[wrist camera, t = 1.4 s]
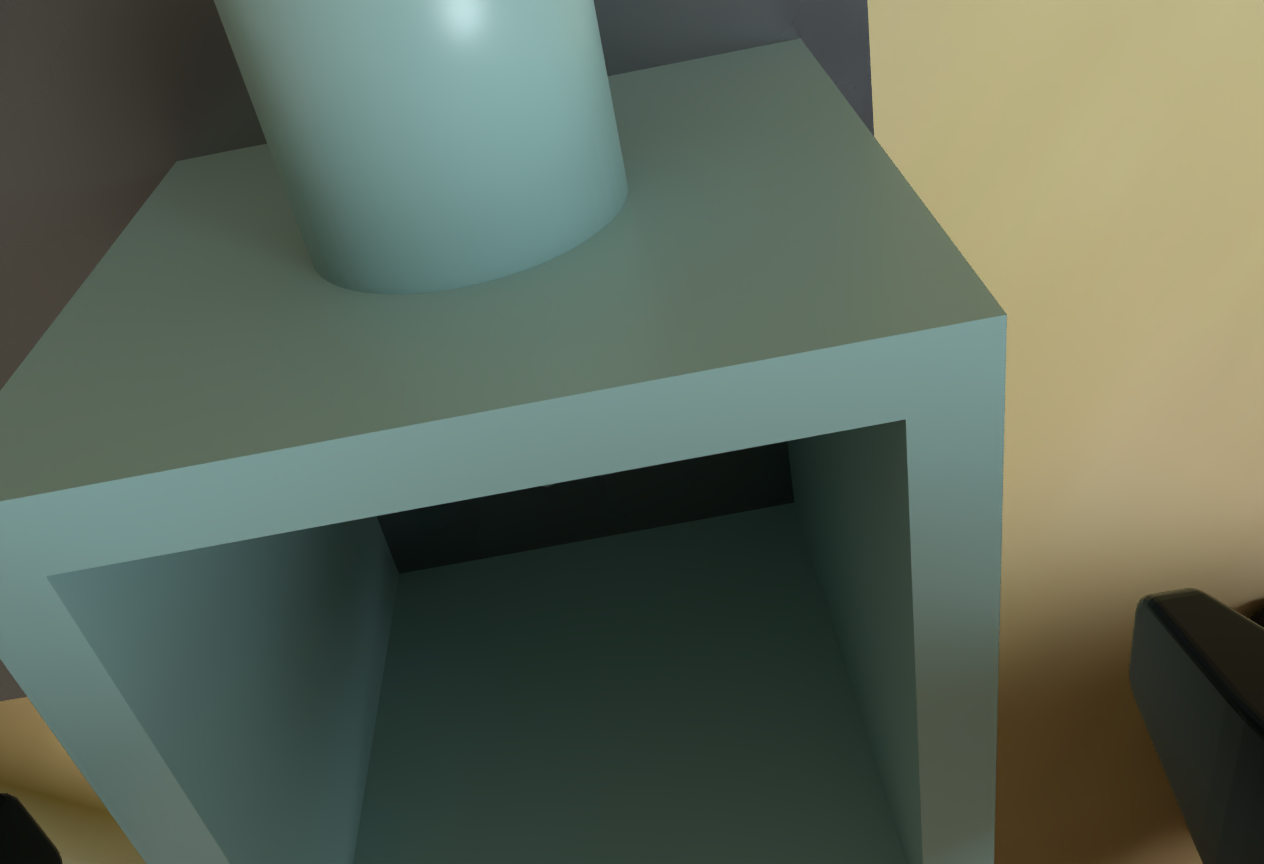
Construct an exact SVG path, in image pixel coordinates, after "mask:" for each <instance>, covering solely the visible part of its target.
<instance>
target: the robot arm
mask: <svg viewBox="0 0 1264 864" xmlns="http://www.w3.org/2000/svg"><path fill="white" fill-rule="evenodd" d="M1129 678H1130V684H1131V689H1132V692H1133V696H1134V699H1135V701H1136V704H1137V706H1138V709H1139V711H1140V713H1141V716H1142V718H1143V721H1144V723H1145V726H1146V728H1147V730H1148V733H1149V735H1150V738H1151V740H1152V742H1153V745H1154V747H1155V750H1156V752H1157V754H1158V757H1159V759H1160V762H1161V764H1162V767H1163V769H1164V771H1165V774H1166V776H1167V779H1168V781H1169V783H1170V786H1171V788H1172V791H1173V793H1174V796H1175V798H1176V800H1177V803H1178V805H1179V808H1180V810H1181V812H1182V815H1183V817H1184V820H1185V822H1186V825H1187V827H1188V829H1189V832H1190V834H1191V837H1192V839H1193V841H1194V844H1195V846H1196V849H1197V851H1198V853H1199V856H1200V858H1201V860H1202V862H1203V864H1264V609H1263V610H1261V611H1259V612H1258V613H1256V614H1255V615H1254V616H1253V617H1252V618H1251V619H1248V618H1247V617H1245V616H1243V615H1242V614H1240V613H1238V612H1237V611H1235V610H1233V609H1232V608H1230V607H1228V606H1227V605H1225V604H1223V603H1222V602H1220V601H1218V600H1217V599H1215V598H1213V597H1212V596H1210V595H1208V594H1207V593H1205V592H1203V591H1200V590H1197V589H1193V588H1185V589H1179V590H1173V591H1167V592H1161V593H1155V594H1150V595H1147V596H1144V597H1143V598H1142V599H1141V600H1140V601H1139V603H1138V604H1137V608H1136V612H1135V620H1134V629H1133V638H1132V646H1131V655H1130V664H1129ZM0 864H63V863H62V859H61V856H60V853H59V851H58V849H57V848H56V846H55V845H54V844H53V842H52V841H51V840H50V838H49V837H48V836H47V835H46V833H45V832H44V831H43V829H42V828H41V827H40V826H39V824H38V823H37V822H36V820H35V819H34V818H33V817H32V815H31V814H30V813H29V811H28V810H27V809H26V808H25V806H24V805H23V804H22V802H21V801H20V800H19V799H18V798H16V797H14V796H12V795H10V794H8V793H0Z"/></svg>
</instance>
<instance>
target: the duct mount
mask: <svg viewBox="0 0 1264 864" xmlns="http://www.w3.org/2000/svg"><path fill="white" fill-rule="evenodd" d="M594 6H595V11H596V17H597V22H598V27H599V33H600V38H601V44H602V49H603V54H604V60H605V65H606V70H607V76H612V75H617V74H622V73H627V72H632V71H637V70H642V69H647V68H653V67H658V66H663V65H668V64H673V63H678V62H683V61H688V60H693V59H698V58H703V57H708V56H713V55H719V54H724V53H729V52H734V51H739V50H744V49H749V48H754V47H759V46H764V45H769V44H774V43H779V42H785V41H790V40H795V39H800V38H801V40H802V41H803V42H804V44H805V45H806V46H807V48H808V49H809V50H810V52H811V53H812V54H813V56H814V57H815V58H816V60H817V61H818V62H819V64H820V65H821V66H822V68H823V69H824V70H825V72H826V73H827V74H828V76H829V77H830V79H831V80H832V81H833V83H834V84H835V85H836V87H837V88H838V89H839V91H840V92H841V93H842V95H843V96H844V97H845V99H846V100H847V101H848V103H849V104H850V105H851V107H852V108H853V109H854V111H855V112H856V113H857V115H858V116H859V117H860V119H861V120H862V121H863V123H864V124H865V125H866V127H867V128H868V129H869V131H870V132H871V133H872V135H873V136H874V128H873V108H872V87H871V67H870V47H869V27H868V7H867V0H594ZM262 144H267V141H266V139H265V136H264V133H263V131H262V128H261V125H260V123H259V120H258V117H257V115H256V112H255V109H254V107H253V104H252V101H251V99H250V96H249V93H248V91H247V88H246V85H245V83H244V80H243V77H242V75H241V72H240V69H239V67H238V64H237V61H236V59H235V56H234V53H233V51H232V48H231V45H230V43H229V40H228V37H227V35H226V32H225V29H224V26H223V24H222V21H221V18H220V16H219V13H218V10H217V8H216V5H215V2H214V0H0V390H1V389H2V388H3V387H4V385H5V384H6V383H7V381H8V380H9V379H10V377H11V376H12V375H13V374H14V372H15V371H16V370H17V368H18V367H19V366H20V364H21V363H22V362H23V361H24V359H25V358H26V357H27V355H28V354H29V353H30V351H31V350H32V349H33V348H34V346H35V345H36V344H37V342H38V341H39V340H40V338H41V337H42V336H43V335H44V333H45V332H46V331H47V329H48V328H49V327H50V325H51V324H52V323H53V321H54V320H55V319H56V318H57V316H58V315H59V314H60V312H61V311H62V310H63V308H64V307H65V306H66V305H67V303H68V302H69V301H70V299H71V298H72V297H73V295H74V294H75V293H76V292H77V290H78V289H79V288H80V286H81V285H82V284H83V282H84V281H85V280H86V279H87V277H88V276H89V275H90V273H91V272H92V271H93V269H94V268H95V267H96V265H97V264H98V263H99V262H100V260H101V259H102V258H103V256H104V255H105V254H106V252H107V251H108V250H109V249H110V247H111V246H112V245H113V243H114V242H115V241H116V239H117V238H118V237H119V236H120V234H121V233H122V232H123V230H124V229H125V228H126V226H127V225H128V224H129V223H130V221H131V220H132V219H133V217H134V216H135V215H136V213H137V212H138V211H139V210H140V208H141V207H142V206H143V204H144V203H145V202H146V200H147V199H148V198H149V196H150V195H151V194H152V193H153V191H154V190H155V189H156V187H157V186H158V185H159V183H160V182H161V181H162V180H163V178H164V177H165V176H166V174H167V173H168V172H169V170H170V169H171V168H172V167H173V165H174V164H175V163H176V161H181V160H186V159H191V158H196V157H201V156H206V155H211V154H216V153H221V152H226V151H231V150H236V149H241V148H247V147H252V146H257V145H262ZM790 503H794V495H793V486H792V478H791V469H790V460H789V451H788V443H787V441H785V442H779V443H774V444H768V445H763V446H757V447H752V448H746V449H741V450H735V451H730V452H724V453H719V454H713V455H708V456H702V457H697V458H691V459H686V460H680V461H675V462H669V463H664V464H659V465H653V466H648V467H642V468H637V469H631V470H626V471H620V472H615V473H609V474H604V475H598V476H593V477H587V478H582V479H576V480H571V481H565V482H560V483H554V484H549V485H543V486H538V487H532V488H527V489H522V490H516V491H511V492H505V493H500V494H494V495H489V496H483V497H478V498H472V499H467V500H461V501H456V502H450V503H445V504H439V505H434V506H428V507H423V508H417V509H412V510H406V511H401V512H396V513H390V514H385V515H379V516H376V517H377V519H378V522H379V524H380V527H381V529H382V532H383V534H384V537H385V539H386V542H387V545H388V547H389V550H390V552H391V555H392V557H393V560H394V562H395V565H396V567H397V570H398V572H399V574H401V573H407V572H412V571H418V570H423V569H429V568H435V567H440V566H446V565H451V564H457V563H462V562H468V561H473V560H479V559H484V558H490V557H496V556H501V555H507V554H512V553H518V552H523V551H529V550H534V549H540V548H546V547H551V546H557V545H562V544H568V543H573V542H579V541H584V540H590V539H595V538H601V537H607V536H612V535H618V534H623V533H629V532H634V531H640V530H645V529H651V528H656V527H662V526H668V525H673V524H679V523H684V522H690V521H695V520H701V519H706V518H712V517H718V516H723V515H729V514H734V513H740V512H745V511H751V510H756V509H762V508H767V507H773V506H779V505H784V504H790ZM21 697H27V696H26V694H25V693H24V691H23V690H22V689H21V687H20V686H19V684H18V683H17V682H16V680H15V679H14V677H13V676H12V675H11V673H10V672H9V670H8V669H7V668H6V666H5V665H4V663H3V662H2V661H1V659H0V701H4V700H10V699H15V698H21Z"/></svg>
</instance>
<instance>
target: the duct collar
mask: <svg viewBox="0 0 1264 864" xmlns="http://www.w3.org/2000/svg"><path fill="white" fill-rule="evenodd" d="M214 2H215V5H216V8H217V10H218V13H219V16H220V18H221V21H222V24H223V26H224V29H225V32H226V35H227V37H228V40H229V43H230V45H231V48H232V51H233V53H234V56H235V59H236V61H237V64H238V67H239V69H240V72H241V75H242V77H243V80H244V83H245V85H246V88H247V91H248V93H249V96H250V99H251V101H252V104H253V107H254V109H255V112H256V115H257V117H258V120H259V123H260V125H261V128H262V131H263V133H264V136H265V139H266V141H267V144H262V145H257V146H252V147H247V148H241V149H236V150H231V151H226V152H221V153H216V154H211V155H206V156H201V157H196V158H191V159H186V160H181V161H176V163H175V164H174V165H173V167H172V168H171V169H170V170H169V172H168V173H167V174H166V176H165V177H164V178H163V180H162V181H161V182H160V183H159V185H158V186H157V187H156V189H155V190H154V191H153V193H152V194H151V195H150V196H149V198H148V199H147V200H146V202H145V203H144V204H143V206H142V207H141V208H140V210H139V211H138V212H137V213H136V215H135V216H134V217H133V219H132V220H131V221H130V223H129V224H128V225H127V226H126V228H125V229H124V230H123V232H122V233H121V234H120V236H119V237H118V238H117V239H116V241H115V242H114V243H113V245H112V246H111V247H110V249H109V250H108V251H107V252H106V254H105V255H104V256H103V258H102V259H101V260H100V262H99V263H98V264H97V265H96V267H95V268H94V269H93V271H92V272H91V273H90V275H89V276H88V277H87V279H86V280H85V281H84V282H83V284H82V285H81V286H80V288H79V289H78V290H77V292H76V293H75V294H74V295H73V297H72V298H71V299H70V301H69V302H68V303H67V305H66V306H65V307H64V308H63V310H62V311H61V312H60V314H59V315H58V316H57V318H56V319H55V320H54V321H53V323H52V324H51V325H50V327H49V328H48V329H47V331H46V332H45V333H44V335H43V336H42V337H41V338H40V340H39V341H38V342H37V344H36V345H35V346H34V348H33V349H32V350H31V351H30V353H29V354H28V355H27V357H26V358H25V359H24V361H23V362H22V363H21V364H20V366H19V367H18V368H17V370H16V371H15V372H14V374H13V375H12V376H11V377H10V379H9V380H8V381H7V383H6V384H5V385H4V387H3V388H2V389H1V390H0V659H1V661H2V662H3V663H4V665H5V666H6V668H7V669H8V670H9V672H10V673H11V675H12V676H13V677H14V679H15V680H16V682H17V683H18V684H19V686H20V687H21V689H22V690H23V691H24V693H25V694H26V696H27V697H28V698H29V700H30V701H31V703H32V704H33V705H34V707H35V708H36V710H37V711H38V712H39V714H40V715H41V717H42V718H43V719H44V721H45V722H46V724H47V725H48V726H49V728H50V729H51V731H52V732H53V733H54V735H55V736H56V738H57V739H58V740H59V742H60V743H61V745H62V746H63V748H64V749H65V750H66V752H67V753H68V755H69V756H70V757H71V759H72V760H73V762H74V763H75V764H76V766H77V767H78V769H79V770H80V771H81V773H82V774H83V776H84V777H85V778H86V780H87V781H88V783H89V784H90V785H91V787H92V788H93V790H94V791H95V792H96V794H97V795H98V797H99V798H100V799H101V801H102V802H103V804H104V805H105V806H106V808H107V809H108V811H109V812H110V813H111V815H112V816H113V818H114V819H115V820H116V822H117V823H118V825H119V826H120V827H121V829H122V830H123V832H124V833H125V834H126V836H127V837H128V839H129V840H130V841H131V843H132V844H133V846H134V847H135V848H136V850H137V851H138V853H139V854H140V855H141V857H142V858H143V860H144V861H145V863H146V864H994V842H995V799H996V756H997V713H998V670H999V627H1000V584H1001V542H1002V499H1003V456H1004V413H1005V370H1006V327H1007V314H1006V313H1005V312H1004V310H1003V309H1002V308H1001V306H1000V305H999V304H998V302H997V301H996V299H995V298H994V297H993V295H992V294H991V293H990V291H989V290H988V289H987V287H986V286H985V285H984V283H983V282H982V281H981V279H980V278H979V277H978V275H977V274H976V273H975V271H974V270H973V269H972V267H971V266H970V265H969V263H968V262H967V261H966V259H965V258H964V257H963V255H962V254H961V253H960V251H959V250H958V249H957V247H956V246H955V245H954V243H953V242H952V241H951V239H950V238H949V237H948V235H947V234H946V233H945V231H944V230H943V229H942V227H941V226H940V224H939V223H938V222H937V220H936V219H935V218H934V216H933V215H932V214H931V212H930V211H929V210H928V208H927V207H926V206H925V204H924V203H923V202H922V200H921V199H920V198H919V196H918V195H917V194H916V192H915V191H914V190H913V188H912V187H911V186H910V184H909V183H908V182H907V180H906V179H905V178H904V176H903V175H902V174H901V172H900V171H899V170H898V168H897V167H896V166H895V164H894V163H893V162H892V160H891V159H890V158H889V156H888V155H887V154H886V152H885V151H884V149H883V148H882V147H881V145H880V144H879V143H878V141H877V140H876V139H875V137H874V136H873V135H872V133H871V132H870V131H869V129H868V128H867V127H866V125H865V124H864V123H863V121H862V120H861V119H860V117H859V116H858V115H857V113H856V112H855V111H854V109H853V108H852V107H851V105H850V104H849V103H848V101H847V100H846V99H845V97H844V96H843V95H842V93H841V92H840V91H839V89H838V88H837V87H836V85H835V84H834V83H833V81H832V80H831V79H830V77H829V76H828V74H827V73H826V72H825V70H824V69H823V68H822V66H821V65H820V64H819V62H818V61H817V60H816V58H815V57H814V56H813V54H812V53H811V52H810V50H809V49H808V48H807V46H806V45H805V44H804V42H803V41H802V40H801V38H800V39H795V40H790V41H785V42H779V43H774V44H769V45H764V46H759V47H754V48H749V49H744V50H739V51H734V52H729V53H724V54H719V55H713V56H708V57H703V58H698V59H693V60H688V61H683V62H678V63H673V64H668V65H663V66H658V67H653V68H647V69H642V70H637V71H632V72H627V73H622V74H617V75H612V76H607V70H606V65H605V60H604V54H603V49H602V44H601V38H600V33H599V27H598V22H597V17H596V11H595V6H594V0H214ZM785 441H787V443H788V451H789V460H790V469H791V478H792V486H793V495H794V503H790V504H784V505H779V506H773V507H767V508H762V509H756V510H751V511H745V512H740V513H734V514H729V515H723V516H718V517H712V518H706V519H701V520H695V521H690V522H684V523H679V524H673V525H668V526H662V527H656V528H651V529H645V530H640V531H634V532H629V533H623V534H618V535H612V536H607V537H601V538H595V539H590V540H584V541H579V542H573V543H568V544H562V545H557V546H551V547H546V548H540V549H534V550H529V551H523V552H518V553H512V554H507V555H501V556H496V557H490V558H484V559H479V560H473V561H468V562H462V563H457V564H451V565H446V566H440V567H435V568H429V569H423V570H418V571H412V572H407V573H401V574H399V572H398V570H397V567H396V565H395V562H394V560H393V557H392V555H391V552H390V550H389V547H388V545H387V542H386V539H385V537H384V534H383V532H382V529H381V527H380V524H379V522H378V519H377V517H376V516H379V515H385V514H390V513H396V512H401V511H406V510H412V509H417V508H423V507H428V506H434V505H439V504H445V503H450V502H456V501H461V500H467V499H472V498H478V497H483V496H489V495H494V494H500V493H505V492H511V491H516V490H522V489H527V488H532V487H538V486H543V485H549V484H554V483H560V482H565V481H571V480H576V479H582V478H587V477H593V476H598V475H604V474H609V473H615V472H620V471H626V470H631V469H637V468H642V467H648V466H653V465H659V464H664V463H669V462H675V461H680V460H686V459H691V458H697V457H702V456H708V455H713V454H719V453H724V452H730V451H735V450H741V449H746V448H752V447H757V446H763V445H768V444H774V443H779V442H785Z"/></svg>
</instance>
